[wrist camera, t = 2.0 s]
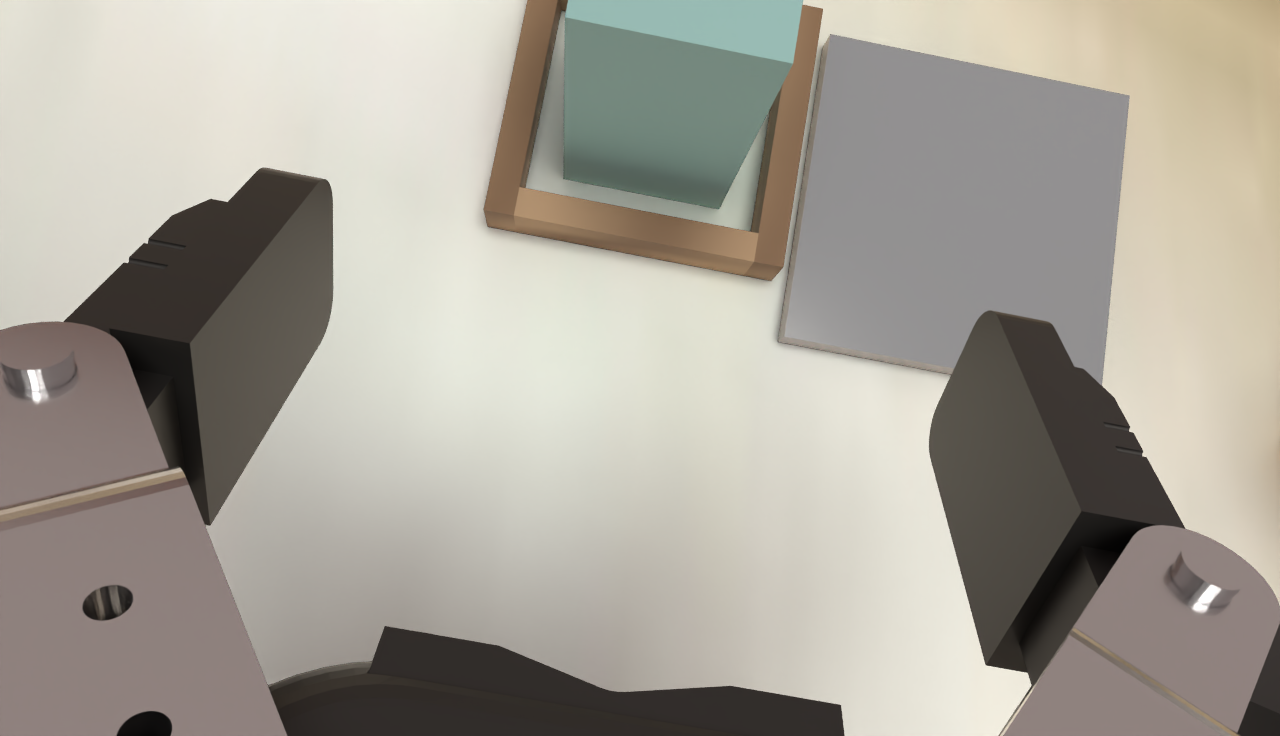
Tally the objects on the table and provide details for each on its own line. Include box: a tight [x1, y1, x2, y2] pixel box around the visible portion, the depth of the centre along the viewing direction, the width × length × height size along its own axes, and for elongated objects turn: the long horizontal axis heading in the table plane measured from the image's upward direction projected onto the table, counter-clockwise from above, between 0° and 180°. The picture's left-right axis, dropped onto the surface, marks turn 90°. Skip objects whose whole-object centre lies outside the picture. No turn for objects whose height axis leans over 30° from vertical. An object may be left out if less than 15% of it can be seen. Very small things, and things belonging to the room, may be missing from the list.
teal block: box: [563, 0, 803, 209], centre depth 24 cm, size 4×4×9 cm
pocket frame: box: [484, 0, 823, 281], centre depth 27 cm, size 8×8×2 cm
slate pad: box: [778, 34, 1129, 386], centre depth 28 cm, size 9×9×1 cm
